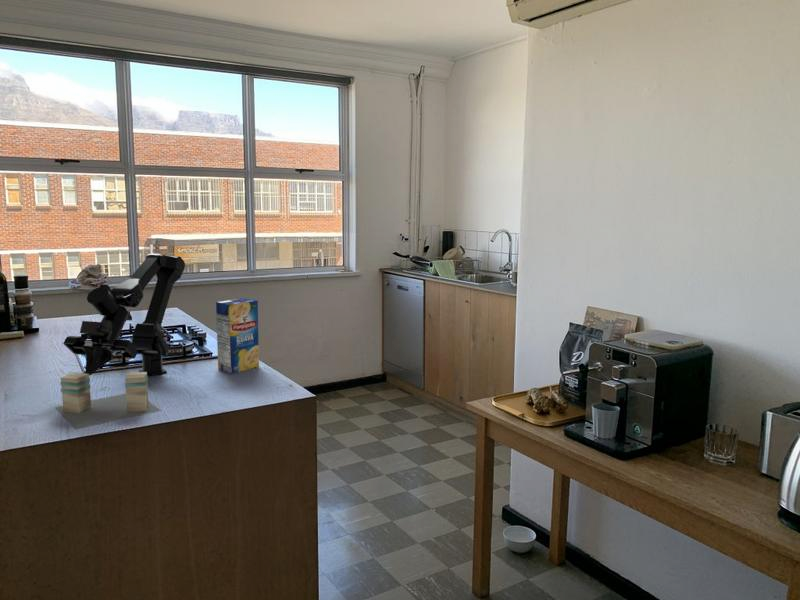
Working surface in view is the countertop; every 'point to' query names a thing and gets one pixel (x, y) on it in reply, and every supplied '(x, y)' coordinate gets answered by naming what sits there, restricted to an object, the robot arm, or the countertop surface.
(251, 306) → the beverage box
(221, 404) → the countertop surface
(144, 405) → the post
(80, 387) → the beige striped block
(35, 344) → the countertop surface
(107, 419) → the mat
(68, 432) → the countertop surface
